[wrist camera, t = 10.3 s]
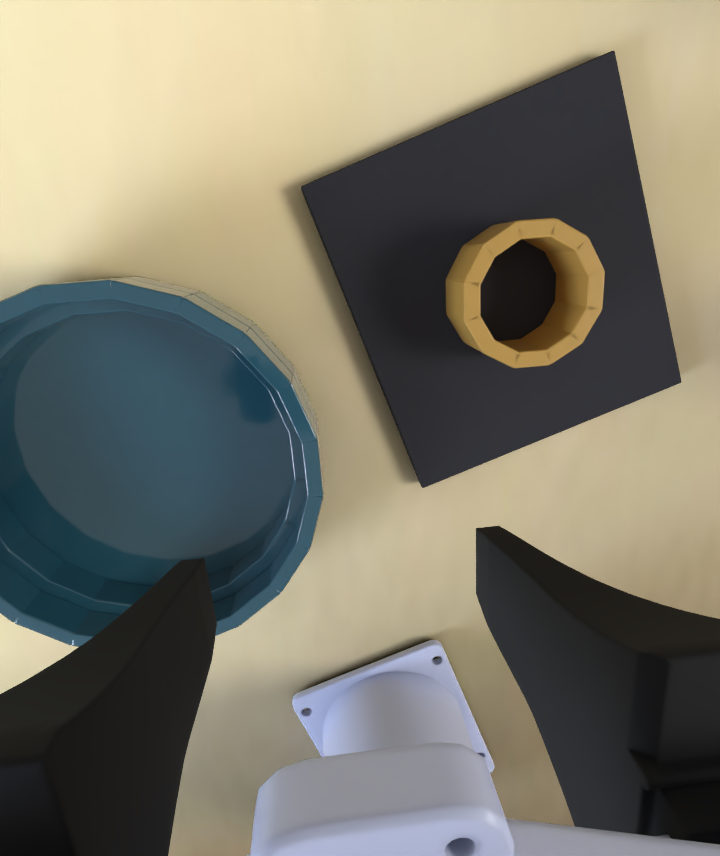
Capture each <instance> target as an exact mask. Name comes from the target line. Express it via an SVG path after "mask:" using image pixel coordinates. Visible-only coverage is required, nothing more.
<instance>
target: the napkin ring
mask: <svg viewBox="0 0 720 856" xmlns="http://www.w3.org/2000/svg"><path fill="white" fill-rule="evenodd" d="M522 239H523V240H524V241H526V242H528V243H530V244H532V245H533V246H535V247H537V248H539V249H541V250H542V251H544V252H545V254H546V255H547V257H548V259H549V261H550V263H551V265H552V267H553V269H554V271H555V273H556V289H555V302H554V304H553V306H552V307H551V309H550V311H549V313H548V315H547V316H546V318H545V320H544V322H543V323H542V325H541V326H539V327H538V328H536V329H535V330H533V331H532V332H530V333H529V334H527V335H526V336H524V337H523V338H521V339H515V340H504V341H496V340H494V338H493V336H492V335H491V333H490V331H489V329H488V328H487V326H486V324H485V323H484V321H483V319H482V317H481V316H480V285H481V283H482V281H483V279H484V277H485V275H486V273H487V272H488V270H489V268H490V266H491V264H492V262H493V260H494V258H495V257H496V256H498V255H499V254H501V253H502V252H503V251H505V250H506V249H508V248H509V247H511V246H512V245H514V244H515V243H516V242H518V241H519V240H522ZM604 278H605V271H604V268H603V266H602V264H601V262H600V260H599V258H598V256H597V254H596V252H595V250H594V248H593V246H592V244H591V241H590V239H589V238H588V237H587V236H586V235H585V234H583V233H581V232H579V231H578V230H576V229H574V228H573V227H571V226H569V225H567V224H566V223H564V222H562V221H560V220H559V219H555V218H545V219H531V220H518V221H512V222H507V223H501V224H496V225H492V226H490V227H489V228H487V229H486V230H484V231H483V232H481V233H480V234H479V235H477V236H476V237H474V238H473V239H471V240H470V241H469V242H467V243H466V244H464V245H463V247H462V248H461V250H460V252H459V254H458V256H457V258H456V260H455V262H454V264H453V266H452V267H451V269H450V271H449V273H448V275H447V277H446V314H447V316H448V318H449V319H450V321H451V323H452V324H453V326H454V328H455V329H456V331H457V333H458V334H459V336H460V338H461V339H462V341H463V342H464V343H466V344H467V345H469V346H471V347H473V348H475V349H476V350H478V351H480V352H482V353H484V354H486V355H488V356H490V357H492V358H494V359H496V360H498V361H500V362H502V363H504V364H506V365H508V366H510V367H512V368H524V367H535V366H546V365H550V364H552V363H554V362H555V361H557V360H558V359H560V358H561V357H563V356H564V355H566V354H567V353H569V352H570V351H572V350H573V349H575V348H576V347H578V346H579V345H581V344H582V343H583V341H584V340H585V338H586V336H587V334H588V333H589V331H590V329H591V328H592V326H593V324H594V323H595V321H596V319H597V318H598V316H599V314H600V312H601V310H602V306H603V292H604Z"/></svg>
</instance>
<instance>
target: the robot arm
mask: <svg viewBox="0 0 720 856" xmlns="http://www.w3.org/2000/svg"><path fill="white" fill-rule="evenodd" d="M476 594H477V597H478V600H479V603H480V606H481V609H482V611H483V614H484V617H485V620H486V622H487V625H488V627H489V629H490V631H491V633H492V635H493V637H494V639H495V641H496V643H497V645H498V647H499V649H500V651H501V653H502V655H503V656H504V658H505V660H506V662H507V664H508V666H509V668H510V670H511V672H512V674H513V676H514V677H515V679H516V681H517V683H518V685H519V687H520V689H521V691H522V693H523V695H524V697H525V699H526V701H527V703H528V705H529V707H530V709H531V711H532V713H533V716H534V718H535V721H536V723H537V726H538V728H539V731H540V733H541V736H542V738H543V741H544V743H545V746H546V748H547V751H548V754H549V756H550V759H551V762H552V764H553V767H554V770H555V772H556V775H557V778H558V780H559V783H560V786H561V788H562V791H563V794H564V796H565V799H566V802H567V805H568V808H569V810H570V813H571V816H572V819H573V822H574V825H575V826H567V825H559V824H551V823H543V822H534V821H526V820H518V819H510V818H505V815H504V812H503V809H502V807H501V804H500V801H499V798H498V795H497V792H496V789H495V786H494V783H493V781H492V778H491V775H490V773H491V772H492V771H493V770H494V763H493V760H492V758H491V756H490V753H489V751H488V749H487V747H486V744H485V742H484V740H483V738H482V735H481V733H480V731H479V728H478V726H477V724H476V722H475V719H474V717H473V715H472V713H471V710H470V708H469V706H468V703H467V701H466V699H465V697H464V694H463V692H462V690H461V687H460V685H459V683H458V681H457V678H456V676H455V674H454V672H453V669H452V667H451V665H450V662H449V660H448V658H447V656H446V653H445V651H444V649H443V647H442V644H441V643H440V642H439V641H437V640H429V641H427V642H424V643H421V644H419V645H416V646H414V647H411V648H409V649H406V650H404V651H401V652H399V653H396V654H394V655H391V656H389V657H386V658H384V659H381V660H379V661H376V662H374V663H371V664H368V665H366V666H363V667H361V668H358V669H356V670H353V671H351V672H348V673H346V674H343V675H341V676H338V677H336V678H333V679H331V680H328V681H326V682H323V683H321V684H318V685H316V686H313V687H310V688H308V689H305V690H303V691H300V692H298V693H296V694H295V695H294V696H293V700H292V706H293V708H294V710H295V712H296V713H297V715H298V717H299V719H300V720H301V722H302V724H303V725H304V727H305V729H306V730H307V732H308V734H309V736H310V737H311V739H312V741H313V742H314V744H315V746H316V747H317V749H318V751H319V752H320V754H321V756H322V757H318V758H310V759H306V760H303V761H300V762H297V763H294V764H291V765H288V766H285V767H282V768H280V769H278V770H277V771H276V772H275V773H274V774H273V775H272V776H271V777H270V778H269V779H268V780H267V781H266V782H265V783H264V784H263V785H262V786H261V787H260V788H259V791H258V796H257V802H256V807H255V814H254V824H253V834H252V844H251V854H248V855H246V856H720V619H716V618H712V617H707V616H703V615H699V614H695V613H691V612H687V611H683V610H679V609H675V608H672V607H668V606H665V605H661V604H658V603H655V602H652V601H649V600H646V599H643V598H640V597H637V596H634V595H631V594H629V593H626V592H623V591H621V590H618V589H616V588H613V587H611V586H609V585H606V584H604V583H601V582H599V581H597V580H595V579H592V578H590V577H588V576H586V575H584V574H582V573H580V572H578V571H576V570H574V569H572V568H570V567H568V566H566V565H564V564H563V563H561V562H559V561H557V560H555V559H554V558H552V557H550V556H548V555H547V554H545V553H543V552H542V551H540V550H538V549H537V548H535V547H533V546H532V545H530V544H528V543H527V542H525V541H523V540H522V539H520V538H519V537H517V536H515V535H514V534H512V533H510V532H509V531H507V530H505V529H503V528H501V527H500V526H493V527H484V528H476ZM216 627H217V622H216V616H215V611H214V606H213V600H212V595H211V590H210V584H209V579H208V574H207V568H206V563H205V558H200V559H191V560H181V561H180V562H179V563H177V564H176V565H175V566H174V567H173V568H172V569H171V570H170V571H168V572H167V573H166V574H165V575H164V576H163V577H162V578H161V579H160V580H159V581H158V582H157V583H156V584H155V585H154V586H153V587H151V588H150V589H149V590H148V591H147V592H146V593H145V594H144V595H143V596H142V597H141V598H140V599H138V600H137V601H136V602H135V603H134V604H133V605H132V606H131V607H129V608H128V609H127V610H126V611H125V612H123V613H122V614H121V615H120V616H119V617H117V618H116V619H115V620H114V621H113V622H112V623H110V624H109V625H108V626H107V627H106V628H104V629H103V630H102V631H100V632H99V633H98V634H97V635H95V636H94V637H93V638H91V639H90V640H88V641H87V642H86V643H84V644H83V645H81V646H80V647H79V648H77V649H76V650H74V651H73V652H71V653H70V654H68V655H67V656H65V657H64V658H62V659H61V660H59V661H57V662H56V663H54V664H52V665H51V666H49V667H47V668H46V669H44V670H42V671H41V672H39V673H38V674H36V675H34V676H33V677H31V678H29V679H28V680H26V681H24V682H22V683H20V684H19V685H17V686H15V687H13V688H11V689H9V690H7V691H5V692H4V693H2V694H0V856H168V852H169V845H170V839H171V833H172V827H173V821H174V814H175V808H176V802H177V796H178V791H179V785H180V780H181V774H182V769H183V763H184V758H185V754H186V750H187V746H188V742H189V738H190V735H191V731H192V728H193V724H194V721H195V717H196V714H197V710H198V707H199V703H200V700H201V696H202V693H203V689H204V686H205V682H206V679H207V675H208V672H209V668H210V664H211V661H212V655H213V649H214V642H215V634H216ZM436 656H440V657H439V658H437V659H433V658H434V657H436ZM304 708H310V709H308V710H305V709H304Z"/></svg>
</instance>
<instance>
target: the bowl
mask: <svg viewBox="0 0 720 856" xmlns="http://www.w3.org/2000/svg"><path fill="white" fill-rule="evenodd" d="M322 500H323V479H322V462H321V453H320V443H319V433H318V423H317V417H316V413H315V411H314V409H313V407H312V405H311V402H310V400H309V398H308V396H307V394H306V391H305V389H304V387H303V385H302V383H301V380H300V378H299V376H298V374H297V372H296V369H295V368H294V367H293V365H292V363H291V362H290V361H289V360H288V359H287V358H286V357H285V356H284V355H283V354H282V352H281V351H280V350H279V349H278V348H277V347H276V346H275V345H274V344H273V343H272V341H271V340H270V339H269V338H268V337H267V336H266V335H265V334H264V333H263V332H262V330H261V329H260V328H259V327H258V326H257V325H256V324H255V323H253V322H252V321H251V320H249V319H247V318H245V317H244V316H242V315H240V314H239V313H237V312H235V311H234V310H232V309H230V308H229V307H227V306H225V305H223V304H222V303H220V302H218V301H217V300H215V299H213V298H212V297H210V296H208V295H206V294H205V293H203V292H200V291H198V290H194V289H190V288H186V287H181V286H177V285H173V284H169V283H165V282H160V281H156V280H152V279H148V278H144V277H124V278H111V279H98V280H85V281H73V282H63V283H53V284H43V285H38V286H34V287H32V288H30V289H27V290H25V291H23V292H21V293H18V294H16V295H14V296H11V297H9V298H7V299H5V300H2V301H0V613H1V614H2V615H3V616H5V617H6V618H8V619H9V620H10V621H12V622H15V623H16V624H18V625H20V626H23V627H25V628H28V629H30V630H33V631H35V632H38V633H40V634H43V635H45V636H48V637H51V638H53V639H56V640H58V641H61V642H63V643H66V644H68V645H72V646H77V647H80V646H81V645H83V644H84V643H86V642H87V641H88V640H90V639H91V638H93V637H94V636H95V635H97V634H98V633H99V632H100V631H102V630H103V629H104V628H106V627H107V626H108V625H109V624H110V623H112V622H113V621H114V620H115V619H116V618H117V617H119V616H120V615H121V614H122V613H123V612H125V611H126V610H127V609H128V608H129V607H131V606H132V605H133V604H134V603H135V602H136V601H137V600H138V599H140V598H141V597H142V596H143V595H144V594H145V593H146V592H147V591H148V590H149V589H150V588H151V587H153V586H154V585H155V584H156V583H157V582H158V581H159V580H160V579H161V578H162V577H163V576H164V575H165V574H166V573H167V572H168V571H170V570H171V569H172V568H173V567H174V566H175V565H176V564H177V563H179V562H180V561H181V560H191V559H200V558H205V563H206V568H207V574H208V579H209V584H210V590H211V595H212V600H213V606H214V611H215V616H216V622H217V627H216V634H215V636H216V635H219V634H221V633H224V632H226V631H229V630H231V629H233V628H236V627H238V626H239V625H241V624H243V623H244V622H245V621H246V620H248V619H249V618H250V617H251V616H253V615H254V614H255V613H256V612H258V611H259V610H260V609H261V608H263V607H264V606H265V605H266V604H268V603H269V602H270V601H271V600H273V599H274V598H275V597H276V596H278V595H279V594H280V593H281V592H282V591H283V589H284V588H285V586H286V585H287V583H288V582H289V580H290V579H291V577H292V576H293V574H294V573H295V571H296V570H297V568H298V566H299V565H300V563H301V562H302V560H303V559H304V557H305V556H306V554H307V553H308V551H309V550H310V547H311V544H312V540H313V536H314V532H315V528H316V524H317V520H318V516H319V512H320V508H321V504H322Z"/></svg>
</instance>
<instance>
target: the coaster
mask: <svg viewBox="0 0 720 856" xmlns="http://www.w3.org/2000/svg"><path fill="white" fill-rule="evenodd" d="M301 190H302V193H303V195H304V198H305V200H306V203H307V205H308V208H309V210H310V213H311V215H312V217H313V220H314V222H315V225H316V227H317V230H318V232H319V235H320V237H321V240H322V242H323V245H324V247H325V250H326V252H327V255H328V257H329V260H330V262H331V264H332V267H333V269H334V272H335V274H336V277H337V279H338V282H339V284H340V287H341V289H342V292H343V294H344V297H345V299H346V302H347V304H348V307H349V309H350V311H351V314H352V316H353V319H354V321H355V324H356V326H357V329H358V331H359V334H360V336H361V339H362V341H363V344H364V346H365V349H366V351H367V354H368V356H369V359H370V361H371V363H372V366H373V368H374V371H375V373H376V376H377V378H378V381H379V383H380V386H381V388H382V391H383V393H384V396H385V398H386V401H387V403H388V406H389V408H390V410H391V413H392V415H393V418H394V420H395V423H396V425H397V428H398V430H399V433H400V435H401V438H402V440H403V443H404V445H405V448H406V450H407V453H408V455H409V457H410V460H411V462H412V465H413V467H414V470H415V472H416V475H417V477H418V480H419V482H420V484H421V486H422V488H424V487H427V486H429V485H431V484H434V483H436V482H439V481H441V480H444V479H446V478H449V477H451V476H454V475H456V474H458V473H461V472H463V471H466V470H468V469H471V468H473V467H476V466H478V465H480V464H483V463H485V462H488V461H490V460H493V459H495V458H498V457H500V456H502V455H505V454H507V453H510V452H512V451H515V450H517V449H520V448H522V447H525V446H527V445H529V444H532V443H534V442H537V441H539V440H542V439H544V438H547V437H549V436H551V435H554V434H556V433H559V432H561V431H564V430H566V429H569V428H571V427H573V426H576V425H578V424H581V423H583V422H586V421H588V420H591V419H593V418H596V417H598V416H600V415H603V414H605V413H608V412H610V411H613V410H615V409H618V408H620V407H622V406H625V405H627V404H630V403H632V402H635V401H637V400H640V399H642V398H644V397H647V396H649V395H652V394H654V393H657V392H659V391H662V390H664V389H667V388H669V387H671V386H674V385H676V384H679V383H681V377H680V373H679V368H678V363H677V358H676V353H675V348H674V343H673V338H672V333H671V328H670V323H669V318H668V313H667V308H666V303H665V298H664V293H663V288H662V284H661V279H660V274H659V269H658V264H657V259H656V254H655V249H654V244H653V239H652V234H651V229H650V224H649V219H648V214H647V209H646V204H645V199H644V195H643V190H642V185H641V180H640V175H639V170H638V165H637V160H636V155H635V150H634V145H633V140H632V135H631V130H630V125H629V120H628V115H627V110H626V106H625V101H624V96H623V91H622V86H621V81H620V76H619V71H618V66H617V61H616V56H615V52H614V51H611V52H608V53H606V54H604V55H602V56H599V57H597V58H595V59H592V60H590V61H588V62H585V63H583V64H581V65H579V66H576V67H574V68H572V69H569V70H567V71H565V72H563V73H560V74H558V75H556V76H553V77H551V78H549V79H546V80H544V81H542V82H540V83H537V84H535V85H533V86H530V87H528V88H526V89H524V90H521V91H519V92H517V93H514V94H512V95H510V96H508V97H505V98H503V99H501V100H498V101H496V102H494V103H491V104H489V105H487V106H485V107H482V108H480V109H478V110H475V111H473V112H471V113H469V114H466V115H464V116H462V117H459V118H457V119H455V120H452V121H450V122H448V123H446V124H443V125H441V126H439V127H436V128H434V129H432V130H430V131H427V132H425V133H423V134H420V135H418V136H416V137H413V138H411V139H409V140H407V141H404V142H402V143H400V144H397V145H395V146H393V147H391V148H388V149H386V150H384V151H381V152H379V153H377V154H374V155H372V156H370V157H368V158H365V159H363V160H361V161H358V162H356V163H354V164H352V165H349V166H347V167H345V168H342V169H340V170H338V171H335V172H333V173H331V174H329V175H326V176H324V177H322V178H319V179H317V180H315V181H313V182H310V183H308V184H306V185H303V186H302V187H301ZM545 218H555V219H559V220H560V221H562V222H564V223H566V224H567V225H569V226H571V227H573V228H574V229H576V230H578V231H579V232H581V233H583V234H585V235H586V236H587V237H588V238H589V239H590V241H591V244H592V246H593V248H594V250H595V252H596V254H597V256H598V258H599V260H600V262H601V264H602V266H603V268H604V271H605V278H604V292H603V306H602V310H601V312H600V314H599V316H598V318H597V319H596V321H595V323H594V324H593V326H592V328H591V329H590V331H589V333H588V334H587V336H586V338H585V340H584V341H583V343H582V344H581V345H579V346H578V347H576V348H575V349H573V350H572V351H570V352H569V353H567V354H566V355H564V356H563V357H561V358H560V359H558V360H557V361H555V362H554V363H552V364H550V365H546V366H535V367H524V368H512V367H510V366H508V365H506V364H504V363H502V362H500V361H498V360H496V359H494V358H492V357H490V356H488V355H486V354H484V353H482V352H480V351H478V350H476V349H475V348H473V347H471V346H469V345H467V344H466V343H464V342H463V341H462V339H461V338H460V336H459V334H458V333H457V331H456V329H455V328H454V326H453V324H452V323H451V321H450V319H449V318H448V316H447V314H446V277H447V275H448V273H449V271H450V269H451V267H452V266H453V264H454V262H455V260H456V258H457V256H458V254H459V252H460V250H461V248H462V247H463V245H464V244H466V243H467V242H469V241H470V240H471V239H473V238H474V237H476V236H477V235H479V234H480V233H481V232H483V231H484V230H486V229H487V228H489V227H490V226H492V225H496V224H501V223H507V222H512V221H518V220H531V219H545ZM555 289H556V273H555V271H554V269H553V267H552V265H551V263H550V261H549V259H548V257H547V255H546V254H545V252H544V251H542V250H541V249H539V248H537V247H535V246H533V245H532V244H530V243H528V242H526V241H524V240H523V239H522V240H519V241H518V242H516V243H515V244H514V245H512V246H511V247H509V248H508V249H506V250H505V251H503V252H502V253H501V254H499V255H498V256H496V257H495V258H494V260H493V262H492V264H491V266H490V268H489V270H488V272H487V273H486V275H485V277H484V279H483V281H482V283H481V285H480V316H481V317H482V319H483V321H484V323H485V324H486V326H487V328H488V329H489V331H490V333H491V335H492V336H493V338H494V340H496V341H504V340H515V339H521V338H523V337H524V336H526V335H527V334H529V333H530V332H532V331H533V330H535V329H536V328H538V327H539V326H541V325H542V323H543V322H544V320H545V318H546V316H547V315H548V313H549V311H550V309H551V307H552V306H553V304H554V302H555Z"/></svg>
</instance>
